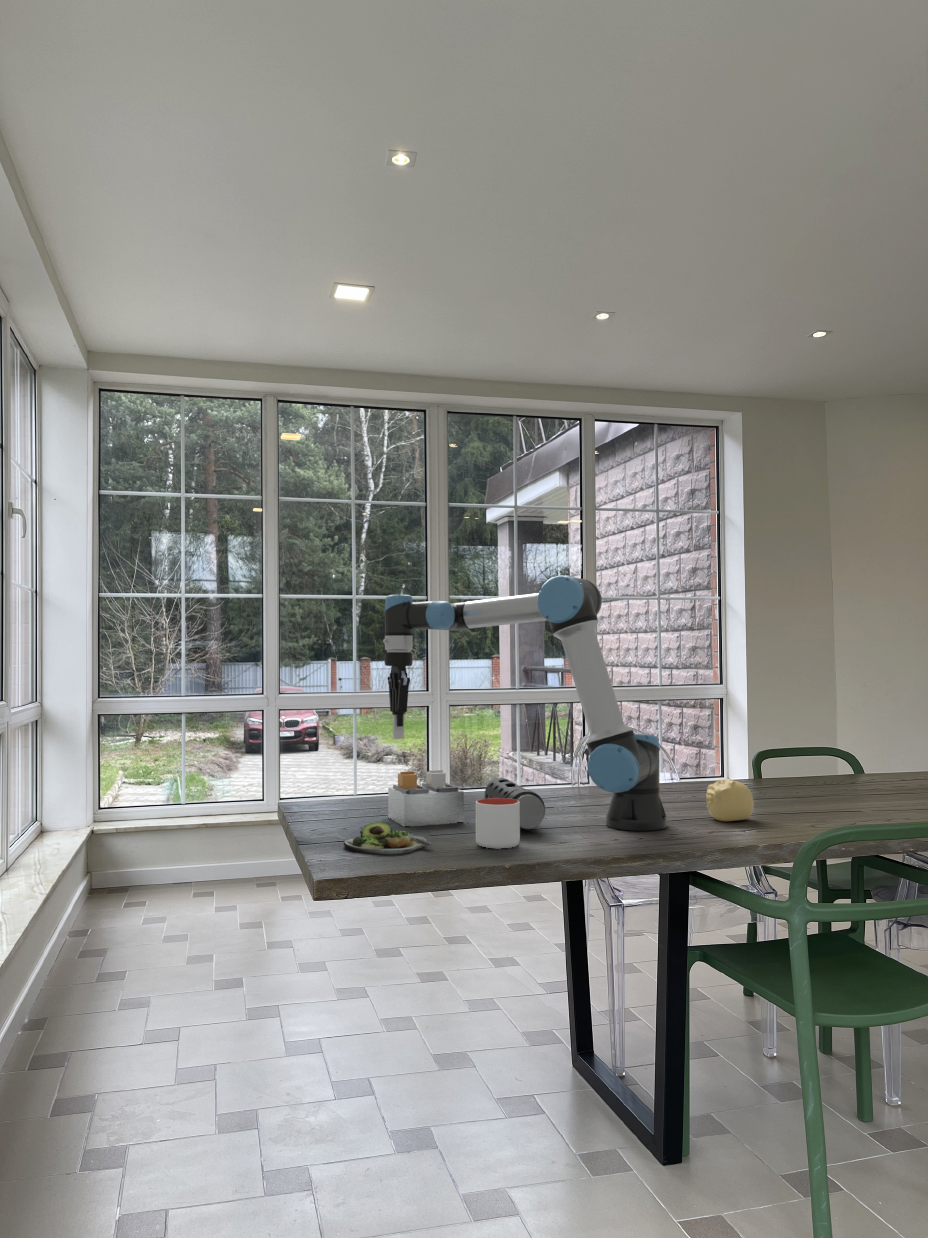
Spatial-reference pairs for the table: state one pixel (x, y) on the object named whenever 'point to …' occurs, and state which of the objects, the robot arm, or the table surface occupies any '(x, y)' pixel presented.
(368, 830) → the salad plate
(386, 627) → the robot arm
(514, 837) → the cup
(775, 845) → the table surface
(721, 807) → the sculpture
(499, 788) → the muzzle brake
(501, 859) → the table surface
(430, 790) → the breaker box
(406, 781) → the toggle orange
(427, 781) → the toggle white
